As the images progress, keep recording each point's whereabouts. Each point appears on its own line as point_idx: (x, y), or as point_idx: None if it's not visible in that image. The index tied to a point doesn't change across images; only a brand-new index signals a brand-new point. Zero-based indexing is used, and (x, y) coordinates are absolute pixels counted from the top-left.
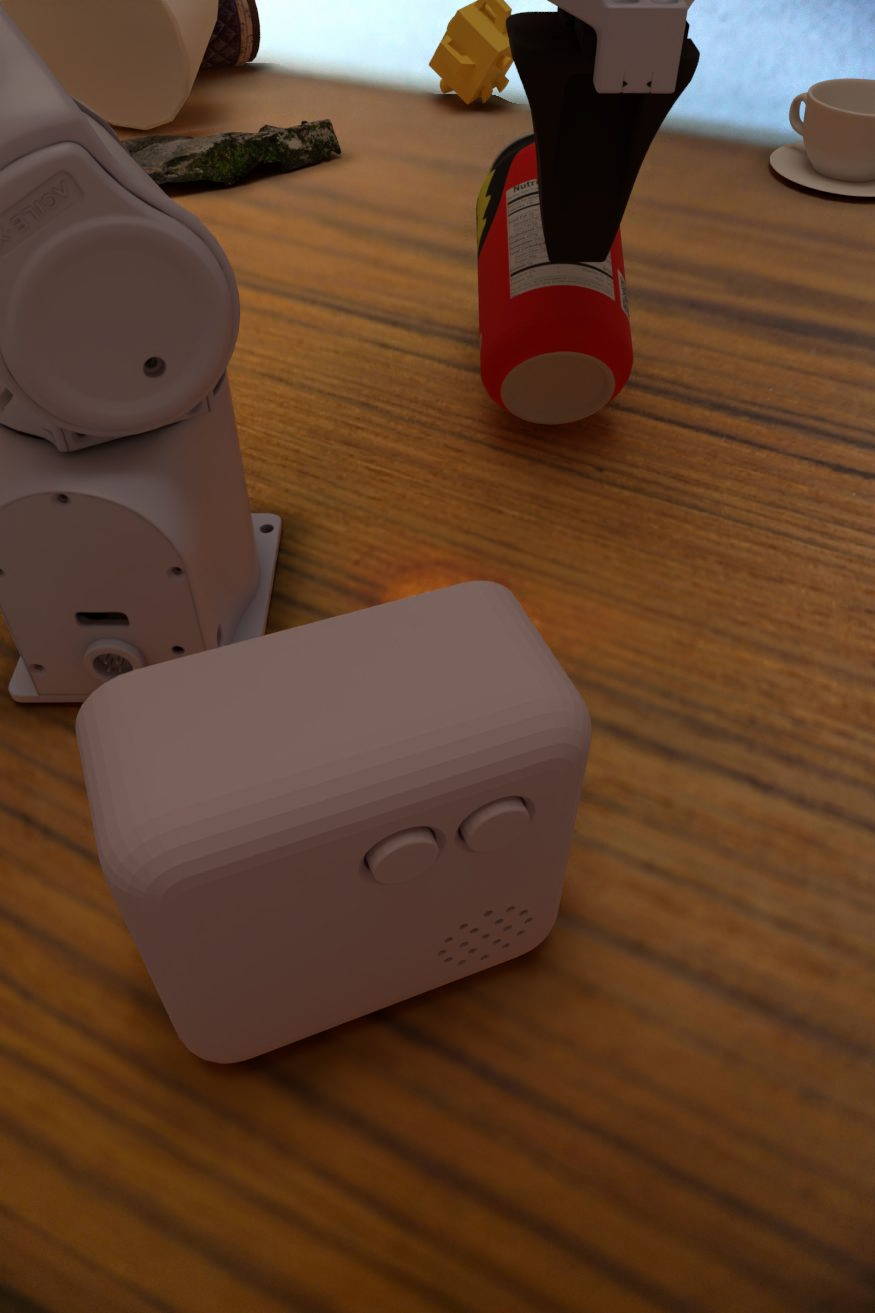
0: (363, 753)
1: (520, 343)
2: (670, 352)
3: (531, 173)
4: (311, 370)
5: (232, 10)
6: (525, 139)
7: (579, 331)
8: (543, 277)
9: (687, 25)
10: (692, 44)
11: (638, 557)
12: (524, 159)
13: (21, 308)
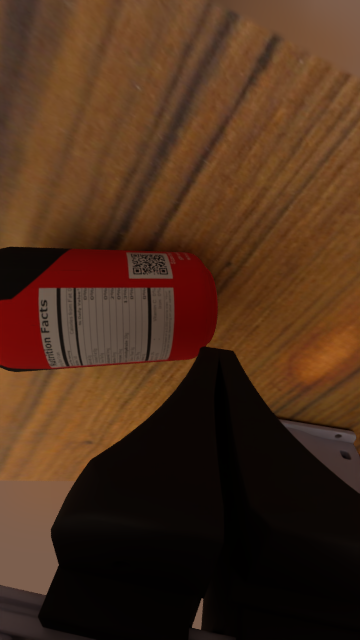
0: None
1: None
2: (82, 169)
3: (37, 358)
4: (116, 389)
5: None
6: None
7: (210, 320)
8: (162, 347)
9: (220, 536)
10: (321, 542)
11: (319, 263)
12: (16, 363)
13: None
